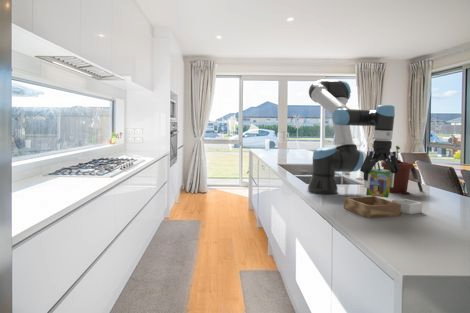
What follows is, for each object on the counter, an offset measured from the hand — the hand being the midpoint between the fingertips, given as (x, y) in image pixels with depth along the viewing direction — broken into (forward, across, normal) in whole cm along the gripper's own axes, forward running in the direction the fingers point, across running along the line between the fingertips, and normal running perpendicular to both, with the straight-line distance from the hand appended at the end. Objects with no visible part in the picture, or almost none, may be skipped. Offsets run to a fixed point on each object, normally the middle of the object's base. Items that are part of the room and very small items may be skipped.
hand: (378, 187), depth 145 cm
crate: (+7, -14, -13) cm, 20 cm away
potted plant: (+8, +33, +21) cm, 40 cm away
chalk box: (+4, 0, 0) cm, 4 cm away
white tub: (+7, +2, -15) cm, 17 cm away
